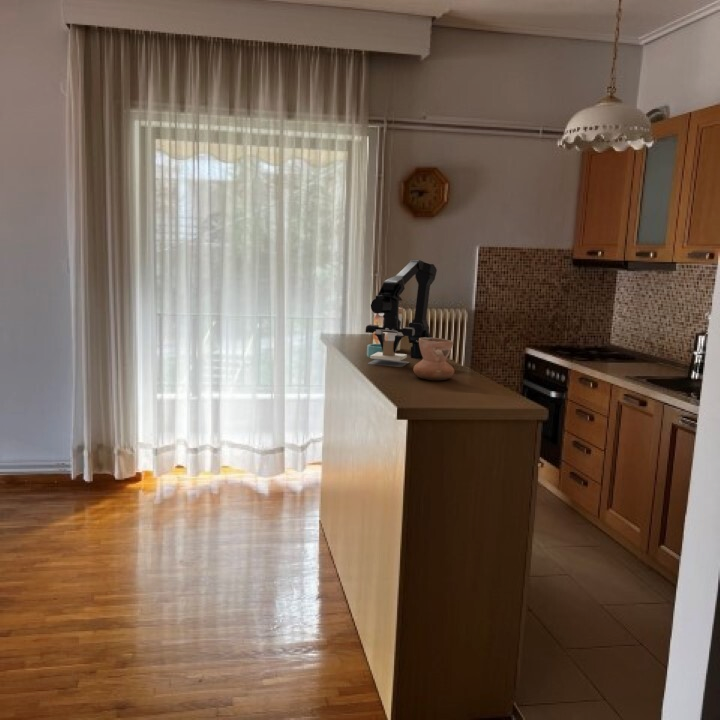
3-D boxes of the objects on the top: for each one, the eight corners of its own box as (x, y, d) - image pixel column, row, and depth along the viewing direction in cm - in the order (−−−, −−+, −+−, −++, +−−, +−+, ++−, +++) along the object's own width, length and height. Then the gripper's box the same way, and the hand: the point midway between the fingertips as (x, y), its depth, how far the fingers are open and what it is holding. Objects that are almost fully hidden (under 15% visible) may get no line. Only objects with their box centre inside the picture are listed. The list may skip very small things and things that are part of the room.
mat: (409, 362, 285) (409, 362, 285) (401, 367, 271) (401, 366, 271) (375, 359, 288) (376, 358, 288) (366, 364, 275) (366, 363, 275)
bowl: (396, 357, 299) (396, 345, 298) (389, 360, 288) (390, 348, 288) (371, 354, 302) (371, 343, 301) (363, 358, 291) (364, 346, 290)
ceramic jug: (457, 384, 243) (460, 343, 241) (415, 381, 243) (418, 340, 241) (448, 375, 261) (451, 337, 259) (409, 373, 260) (412, 335, 259)
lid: (406, 357, 283) (407, 340, 282) (400, 361, 272) (401, 344, 271) (377, 354, 287) (378, 338, 286) (370, 358, 275) (370, 341, 274)
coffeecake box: (372, 346, 330) (374, 304, 327) (385, 345, 333) (387, 304, 330) (386, 350, 317) (389, 307, 314) (400, 350, 320) (403, 307, 317)
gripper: (418, 312, 282) (416, 351, 284) (373, 309, 287) (371, 347, 289) (413, 314, 271) (410, 355, 274) (366, 311, 276) (364, 350, 279)
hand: (389, 352), depth 279 cm, fingers closed on lid, 4 cm apart
